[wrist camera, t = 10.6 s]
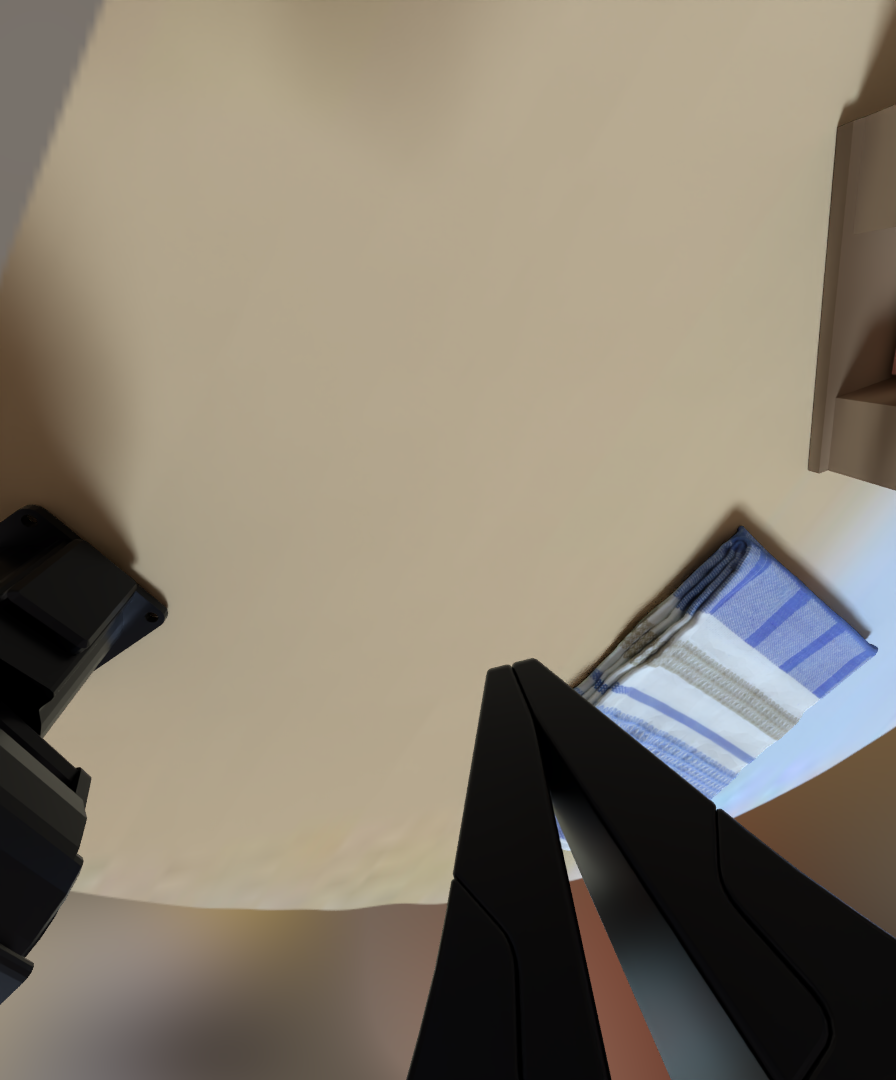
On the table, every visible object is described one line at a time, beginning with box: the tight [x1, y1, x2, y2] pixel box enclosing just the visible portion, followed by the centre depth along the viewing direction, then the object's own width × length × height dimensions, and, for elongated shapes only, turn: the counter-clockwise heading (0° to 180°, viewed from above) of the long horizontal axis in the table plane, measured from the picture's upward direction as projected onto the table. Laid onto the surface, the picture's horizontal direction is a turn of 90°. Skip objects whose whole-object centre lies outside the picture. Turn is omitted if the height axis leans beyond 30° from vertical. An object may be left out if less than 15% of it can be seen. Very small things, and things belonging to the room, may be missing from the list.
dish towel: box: [555, 526, 878, 851], centre depth 29 cm, size 17×24×3 cm
